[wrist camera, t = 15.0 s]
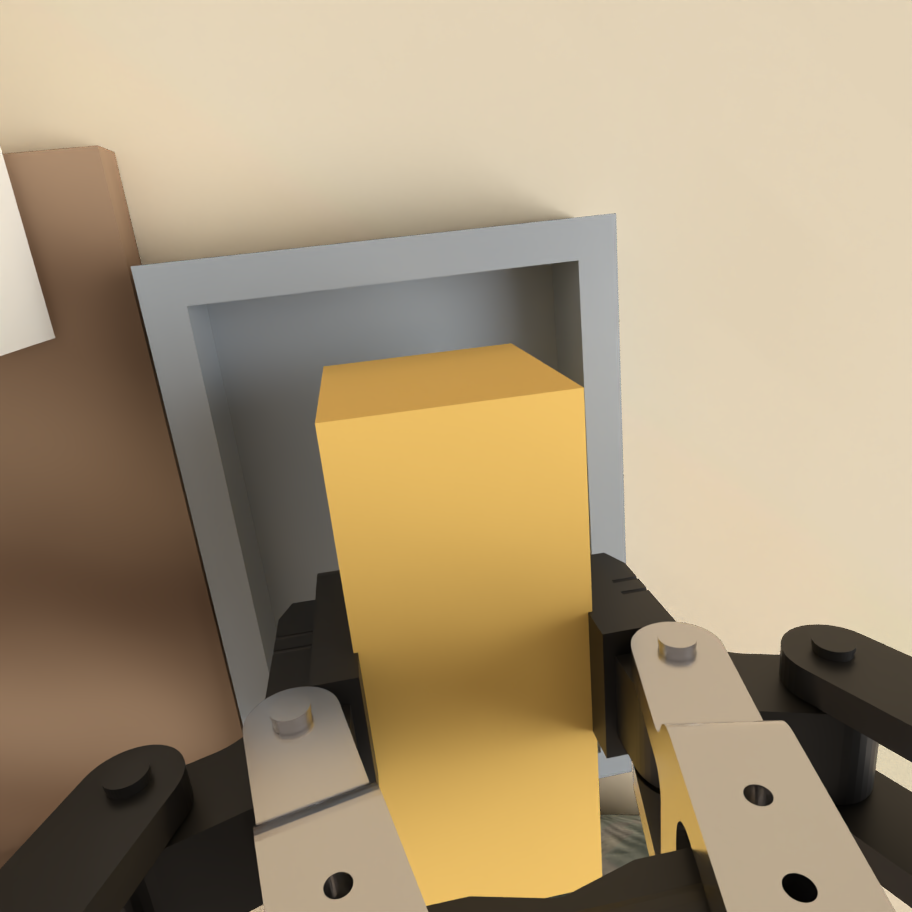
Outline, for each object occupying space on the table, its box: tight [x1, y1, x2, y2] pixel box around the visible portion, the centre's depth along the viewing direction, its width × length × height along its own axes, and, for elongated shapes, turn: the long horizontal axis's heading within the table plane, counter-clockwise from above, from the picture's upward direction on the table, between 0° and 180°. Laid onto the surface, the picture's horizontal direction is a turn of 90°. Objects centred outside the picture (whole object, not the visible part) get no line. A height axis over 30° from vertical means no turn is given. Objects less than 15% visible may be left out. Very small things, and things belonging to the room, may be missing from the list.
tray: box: [131, 213, 632, 778], centre depth 16 cm, size 14×9×2 cm
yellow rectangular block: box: [315, 343, 602, 906], centre depth 12 cm, size 9×4×4 cm, turn 5°
